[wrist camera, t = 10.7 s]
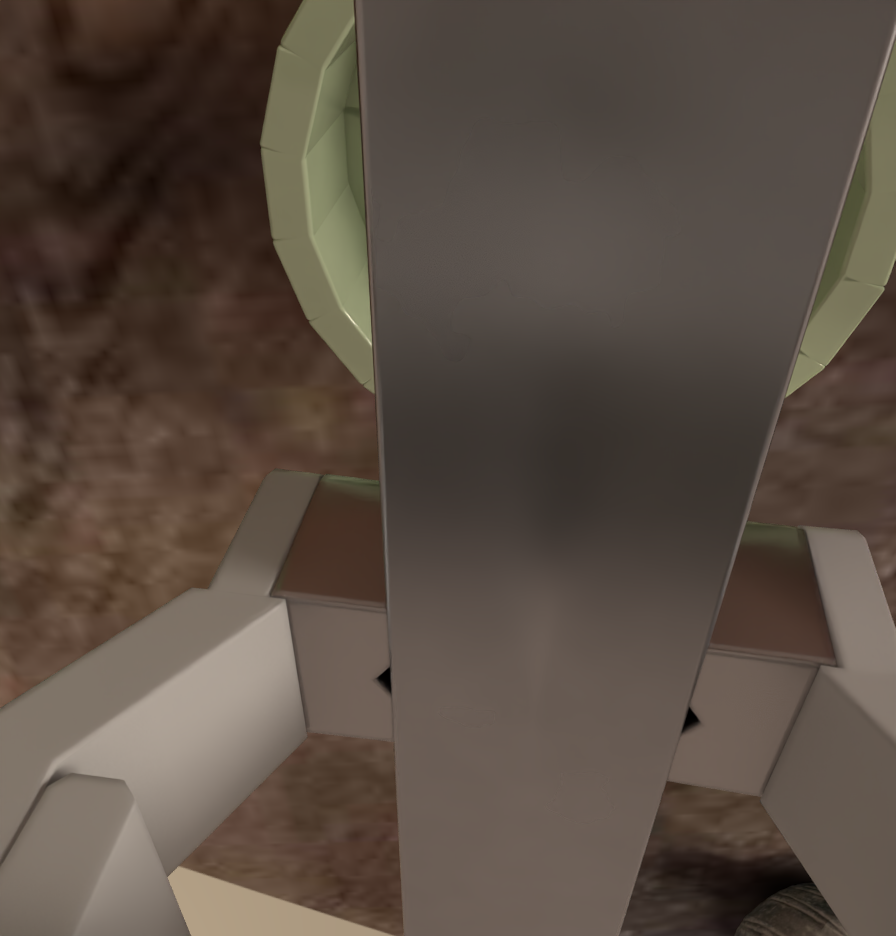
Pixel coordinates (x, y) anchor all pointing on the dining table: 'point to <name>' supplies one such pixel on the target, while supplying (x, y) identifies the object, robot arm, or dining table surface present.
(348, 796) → the dining table surface
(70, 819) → the robot arm
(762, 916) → the mug
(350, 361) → the bowl
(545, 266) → the long grey metal bar
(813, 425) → the dining table surface
